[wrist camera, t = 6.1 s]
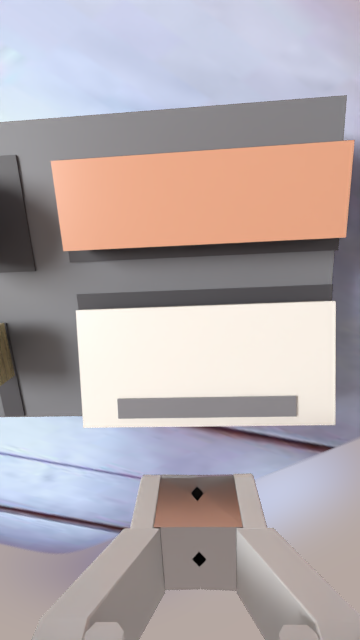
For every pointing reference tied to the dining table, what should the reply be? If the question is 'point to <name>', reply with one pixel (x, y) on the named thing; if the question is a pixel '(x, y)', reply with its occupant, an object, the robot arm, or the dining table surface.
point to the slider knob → (5, 357)
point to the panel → (135, 263)
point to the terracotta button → (205, 196)
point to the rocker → (208, 365)
